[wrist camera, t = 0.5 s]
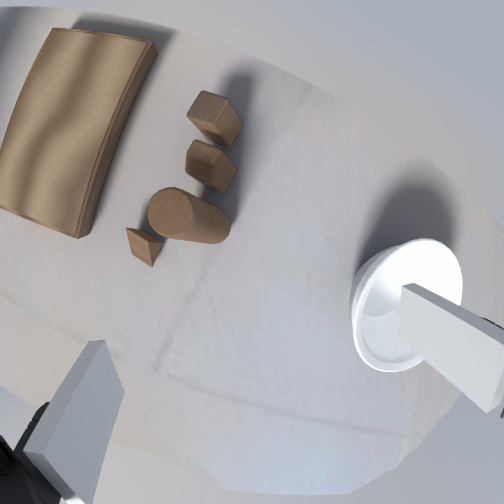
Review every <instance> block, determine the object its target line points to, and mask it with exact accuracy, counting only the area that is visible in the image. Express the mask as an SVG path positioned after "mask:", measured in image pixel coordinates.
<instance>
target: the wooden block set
mask: <svg viewBox="0 0 504 504" xmlns="http://www.w3.org/2000/svg"><path fill="white" fill-rule="evenodd" d="M187 117H188V118H189V119H190V120H191V121H192V122H193V124H194V125H195V126H196V127H197V128H198V129H199V130H200V131H201V132H202V133H203V134H204V135H205V136H206V138H207V139H209V140H212V141H214V142H216V143H219V144H221V145H224V146H226V147H230V146H231V145H232V143H233V142H234V140H235V138H236V136H237V135H238V133H239V131H240V129H241V128H242V125H243V124H242V122H241V120H240V118H239V117H238V115H237V113H236V111H235V109H234V108H233V106H232V104H231V102H230V101H229V99H228V98H226V97H223V96H220V95H216V94H213V93H210V92H207V91H201V92H200V94H199V95H198V97H197V98H196V100H195V101H194V103H193V105H192V106H191V108H190V110H189V111H188V113H187ZM185 171H186V173H187V174H189V175H190V176H192V177H193V178H195V179H196V180H198V181H199V182H201V183H202V184H204V185H206V186H208V187H211V188H213V189H215V190H217V191H219V192H221V193H225V192H226V191H227V189H228V187H229V185H230V183H231V181H232V179H233V177H234V176H235V174H236V172H237V168H236V166H235V165H234V164H233V163H232V162H231V161H230V160H229V158H228V157H227V156H226V155H225V154H224V153H223V152H222V151H221V149H218V148H216V147H213V146H211V145H209V144H206V143H204V142H201V141H199V140H194V141H193V142H192V144H191V146H190V148H189V149H188V151H187V155H186V168H185ZM147 216H148V220H149V223H150V225H151V226H152V228H153V229H154V230H155V231H156V232H157V233H158V234H159V235H161V236H164V237H166V238H172V239H179V240H187V241H194V242H201V243H208V244H216V243H220V242H222V241H223V240H225V239H226V238H227V236H228V235H229V232H230V229H231V225H230V220H229V217H228V216H227V215H226V213H225V212H223V211H222V210H221V209H219V208H217V207H215V206H213V205H211V204H209V203H207V202H206V201H204V200H202V199H200V198H198V197H196V196H194V195H192V194H190V193H188V192H186V191H184V190H182V189H179V188H176V187H167V188H165V189H162V190H159V191H158V192H157V193H156V194H154V195H153V197H152V198H151V200H150V201H149V205H148V208H147ZM126 231H127V235H128V239H129V243H130V247H131V251H132V254H133V255H134V256H136V257H137V258H139V259H140V260H142V261H143V262H145V263H146V264H148V265H149V266H151V267H153V265H154V262H155V260H156V258H157V256H158V254H159V252H160V249H161V247H162V245H163V242H162V241H160V240H158V239H157V238H155V237H153V236H152V235H150V234H148V233H147V232H145V231H143V230H138V229H132V228H126Z"/></svg>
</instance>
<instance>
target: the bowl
mask: <svg viewBox="0 0 504 504" xmlns="http://www.w3.org/2000/svg"><path fill="white" fill-rule="evenodd" d="M413 282H414V283H416V284H418V285H420V286H422V287H424V288H426V289H428V290H430V291H432V292H434V293H436V294H438V295H440V296H442V297H443V298H445V299H447V300H449V301H451V302H453V303H455V304H457V305H459V306H460V304H461V299H462V290H463V283H462V273H461V269H460V265H459V263H458V261H457V258H456V256H455V255H454V254H453V252H452V251H451V250H450V249H449V248H448V247H447V246H446V245H444V244H443V243H442V242H439V241H437V240H434V239H428V238H420V239H415V240H411V241H408V242H406V243H404V244H402V245H397V246H392V247H389V248H387V249H385V250H382V251H381V252H379V253H378V254H376V255H375V256H373V257H372V258H371V259H369V260H368V261H366V262H365V263H364V264H363V265H362V266H361V267H360V268H359V270H358V271H357V272H356V274H355V276H354V278H353V281H352V284H351V290H350V299H349V315H350V320H351V324H352V327H353V337H354V342H355V347H356V349H357V351H358V353H359V355H360V357H361V358H362V359H363V360H364V361H365V362H366V363H367V364H368V365H370V366H371V367H373V368H374V369H377V370H380V371H384V372H396V371H401V370H405V369H408V368H410V367H413V366H415V365H417V364H418V363H420V362H421V361H423V360H424V359H423V358H422V357H421V356H419V355H418V354H417V353H416V352H415V351H413V350H412V349H411V348H410V347H409V346H407V345H406V344H405V343H404V342H403V341H401V340H400V339H399V338H398V335H399V322H400V306H401V286H402V285H406V284H410V283H413Z"/></svg>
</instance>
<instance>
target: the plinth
mask: <svg viewBox="0 0 504 504" xmlns="http://www.w3.org/2000/svg"><path fill="white" fill-rule="evenodd" d="M156 55H157V52H156V49H155V46H154V43H153V41H150V40H145V39H140V38H135V37H129V36H123V35H117V34H111V33H104V32H96V31H88V30H78V29H66V28H52V30H51V32H50V33H49V35H48V37H47V39H46V40H45V42H44V44H43V46H42V48H41V50H40V52H39V54H38V55H37V57H36V59H35V61H34V63H33V66H32V68H31V70H30V72H29V74H28V76H27V78H26V81H25V83H24V85H23V87H22V90H21V92H20V95H19V97H18V100H17V102H16V105H15V107H14V110H13V113H12V115H11V118H10V121H9V124H8V127H7V130H6V133H5V136H4V139H3V142H2V146H1V149H0V208H1V209H4V210H6V211H8V212H11V213H13V214H16V215H18V216H21V217H23V218H25V219H28V220H30V221H33V222H35V223H38V224H40V225H43V226H45V227H48V228H50V229H53V230H56V231H58V232H61V233H63V234H66V235H69V236H71V237H74V238H77V239H79V238H81V237H83V236H86V235H88V234H90V230H91V226H92V222H93V218H94V215H95V211H96V207H97V204H98V200H99V197H100V194H101V190H102V187H103V184H104V181H105V178H106V174H107V171H108V168H109V165H110V163H111V160H112V157H113V154H114V151H115V148H116V146H117V143H118V140H119V138H120V135H121V132H122V130H123V127H124V125H125V122H126V120H127V117H128V115H129V113H130V110H131V108H132V106H133V103H134V101H135V99H136V97H137V94H138V92H139V90H140V88H141V86H142V83H143V81H144V79H145V77H146V75H147V73H148V71H149V69H150V67H151V65H152V63H153V61H154V59H155V57H156Z"/></svg>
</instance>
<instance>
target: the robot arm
mask: <svg viewBox="0 0 504 504" xmlns="http://www.w3.org/2000/svg"><path fill="white" fill-rule="evenodd" d="M398 338H399V339H400V340H401V341H403V342H404V343H405V344H406V345H407V346H409V347H410V348H411V349H412V350H413V351H415V352H416V353H417V354H418V355H419V356H421V357H422V358H423V359H424V360H425V361H427V362H428V363H429V364H430V365H431V366H432V367H434V368H435V369H436V370H437V371H438V372H440V373H441V374H442V375H443V376H444V377H445V378H447V379H448V380H449V381H450V382H451V383H452V384H454V385H455V386H456V387H457V388H458V389H459V390H461V391H462V392H463V393H464V394H465V395H466V396H468V397H469V398H470V399H471V400H472V401H473V402H474V403H476V404H477V405H478V406H479V407H480V408H481V409H483V410H484V411H485V412H486V413H488V412H489V411H491V410H492V409H493V408H495V407H496V406H498V405H499V404H500V401H501V399H502V396H503V394H504V328H503V329H502V327H501V326H499V325H495V323H493V322H492V321H490V320H488V319H486V318H482V317H479V316H477V315H475V314H474V313H472V312H470V311H468V310H466V309H464V308H462V307H460V306H459V305H457V304H455V303H453V302H451V301H449V300H447V299H445V298H443V297H442V296H440V295H438V294H436V293H434V292H432V291H430V290H428V289H426V288H424V287H422V286H420V285H418V284H416V283H414V282H413V283H410V284H406V285H402V286H401V306H400V322H399V335H398ZM124 392H125V391H124V389H123V387H122V384H121V382H120V379H119V377H118V374H117V372H116V369H115V367H114V364H113V361H112V359H111V356H110V353H109V351H108V348H107V345H106V342H105V340H98V341H89V342H88V344H87V345H86V347H85V348H84V350H83V351H82V353H81V354H80V356H79V357H78V359H77V360H76V362H75V363H74V365H73V366H72V368H71V370H70V371H69V373H68V374H67V376H66V377H65V379H64V381H63V382H62V384H61V385H60V387H59V389H58V390H57V392H56V393H55V395H54V397H53V398H52V400H51V402H46V403H45V404H44V405H43V406H41V407H40V408H39V409H38V410H37V411H36V413H35V415H34V416H33V418H32V421H30V423H29V425H28V426H27V427H28V429H26V430H25V432H24V433H23V435H22V437H21V438H20V440H19V442H18V444H17V445H16V447H15V449H14V451H12V449H11V448H10V446H9V445H8V444H7V442H6V441H5V439H4V438H3V437H2V436H1V435H0V504H59V502H60V499H61V497H63V499H64V500H65V501H66V502H67V503H68V504H92V502H93V498H94V494H95V490H96V486H97V482H98V478H99V475H100V471H101V467H102V464H103V460H104V457H105V453H106V449H107V446H108V443H109V440H110V436H111V433H112V430H113V426H114V423H115V420H116V417H117V414H118V411H119V408H120V404H121V401H122V398H123V395H124ZM503 417H504V409H503V411H502V413H501V418H503Z"/></svg>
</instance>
